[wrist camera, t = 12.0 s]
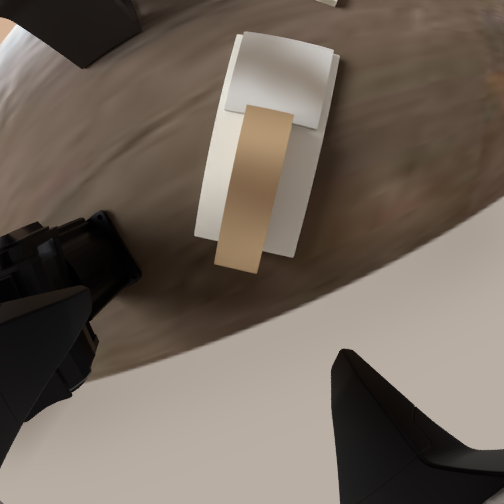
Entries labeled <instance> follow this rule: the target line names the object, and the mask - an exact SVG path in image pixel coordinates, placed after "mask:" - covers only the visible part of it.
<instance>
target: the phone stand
mask: <svg viewBox="0 0 504 504" xmlns="http://www.w3.org/2000/svg"><path fill="white" fill-rule="evenodd" d="M0 17H2V18H6V19H9V20H11V21H13V22H15V23H16V24H18V25H19V26H21V27H22V28H24V29H25V30H27V31H28V32H30V33H31V34H33V35H34V36H36V37H37V38H39V39H40V40H42V41H43V42H45V43H46V44H47V45H49V46H50V47H52V48H53V49H55V50H56V51H57V52H59V53H60V54H62V55H63V56H65V57H66V58H67V59H69V60H70V61H71V62H73V63H74V64H76V65H77V66H78V67H80V68H81V69H83V68H85V67H86V66H87V65H89V64H90V63H91V62H93V61H94V60H96V59H97V58H99V57H100V56H101V55H103V54H104V53H106V52H107V51H109V50H110V49H112V48H114V47H115V46H117V45H118V44H120V43H122V42H123V41H125V40H126V39H128V38H130V37H132V36H133V35H135V34H137V33H139V32H140V31H142V29H141V26H140V23H139V20H138V18H137V15H136V12H135V9H134V6H133V3H132V1H131V0H0Z"/></svg>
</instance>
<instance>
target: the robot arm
mask: <svg viewBox="0 0 504 504" xmlns="http://www.w3.org/2000/svg"><path fill="white" fill-rule="evenodd" d="M100 215H102V219H101V218H100ZM134 273H135V274H136V275H137V277H136V276H134ZM141 276H142V274H141V271H140V270H139V268H138V267H137V265H136V263H135V262H134V260H133V259H132V257H131V255H130V254H129V252H128V250H127V249H126V247H125V245H124V244H123V242H122V240H121V238H120V237H119V235H118V233H117V231H116V230H115V228H114V226H113V224H112V223H111V221H110V219H109V217H108V215H107V213H106V212H105V211H103V210H101V211H98V212H97V213H95V214H94V215H93V216H92V217H90V218H89V219H88V220H87V221H85V219H84V218H78V219H76V220H73V221H71V222H69V223H66V224H64V225H61V226H59V227H57V226H56V227H53V228H49V226H47V227H43V226H42V225H41V224H40V223H39V222H38V221H37V222H35V223H32V224H30V225H27V226H25V227H22V228H20V229H17V230H15V231H13V232H10V233H8V234H6V235H4V236H2V237H0V467H1V465H2V463H3V461H4V459H5V457H6V455H7V453H8V451H9V449H10V447H11V445H12V443H13V441H14V439H15V437H16V435H17V433H18V432H19V430H20V428H21V427H20V426H22V424H23V422H27V421H29V420H30V419H31V418H33V417H34V416H35V415H37V414H38V413H39V412H40V411H42V410H43V409H45V408H46V407H48V406H50V405H52V404H54V403H56V402H58V401H61V400H64V399H68V398H70V397H72V392H74V391H75V390H76V389H78V388H79V387H80V386H81V385H82V384H83V383H84V382H85V380H86V379H87V377H88V376H89V375H90V373H91V371H92V370H91V365H92V361H93V359H94V357H95V353H96V349H97V346H98V343H99V340H98V338H97V335H96V334H94V332H93V330H92V328H91V325H90V323H89V321H91V320H92V319H93V318H94V317H95V316H96V315H97V314H98V313H99V312H100V311H101V310H102V309H103V308H104V307H105V306H106V305H107V304H108V303H109V302H110V301H111V300H112V299H113V298H114V297H115V296H116V295H117V294H118V293H119V292H120V291H121V290H122V289H124V288H126V287H128V286H130V285H131V284H133V283H135V282H137V281H138V280H139V279H140V278H141ZM331 409H332V418H333V427H334V436H335V445H336V456H337V466H338V480H339V493H340V504H504V449H502V450H476V449H472V448H470V447H467V446H466V445H464V444H463V443H462V442H460V441H459V440H457V439H456V438H455V437H453V436H452V435H450V434H449V433H448V432H447V431H445V430H444V429H442V428H441V427H440V426H438V425H437V424H436V423H435V422H433V421H432V420H431V419H430V418H429V417H427V416H426V415H425V414H424V413H423V412H421V411H420V410H419V409H418V408H417V407H414V404H412V403H411V402H410V401H409V400H408V399H407V398H406V397H405V396H404V395H402V394H401V393H400V392H399V391H398V390H397V389H396V388H395V387H393V386H392V385H391V384H390V383H389V382H388V381H387V380H386V379H384V378H383V377H382V376H381V375H380V374H379V373H378V372H376V371H375V370H374V369H373V368H372V367H371V366H370V365H369V364H368V363H366V362H365V361H364V360H363V359H362V358H361V357H360V356H359V355H358V354H357V353H355V352H354V351H353V350H350V349H341V350H340V351H339V353H338V356H337V358H336V360H335V362H334V364H333V366H332V369H331ZM0 504H3V503H2V502H1V501H0Z"/></svg>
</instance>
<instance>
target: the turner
mask: <svg viewBox="0 0 504 504" xmlns="http://www.w3.org/2000/svg"><path fill="white" fill-rule="evenodd" d="M333 51H334V50H332V49H328V48H325V47H321V46H317V45H314V44H310V43H306V42H301V41H297V40H293V39H288V38H283V37H278V36H272V35H266V34H260V33H253V32H246V31H244V34H243V38H242V41H241V45H240V49H239V52H238V56H237V60H236V63H235V67H234V71H233V75H232V79H231V83H230V87H229V91H228V95H227V99H226V103H225V107H224V110H225V111H227V112H233V113H239V114H244V118H243V123H242V127H241V132H240V136H239V141H238V145H237V150H236V154H235V159H234V164H233V168H232V173H231V178H230V183H229V188H228V193H227V198H226V203H225V208H224V213H223V218H222V223H221V228H220V234H219V239H218V245H217V250H216V256H215V261H214V264H216V265H220V266H225V267H229V268H234V269H238V270H242V271H247V272H251V273H256V274H257V271H258V267H259V263H260V259H261V254H262V250H263V246H264V242H265V238H266V234H267V229H268V225H269V221H270V217H271V213H272V208H273V204H274V200H275V196H276V191H277V187H278V183H279V179H280V174H281V170H282V166H283V161H284V157H285V153H286V148H287V144H288V140H289V135H290V131H291V127H292V125H296V126H300V127H304V128H308V129H311V130H317V128H318V123H319V119H320V114H321V110H322V105H323V100H324V96H325V91H326V86H327V81H328V76H329V71H330V66H331V61H332V56H333Z"/></svg>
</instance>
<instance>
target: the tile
mask: <svg viewBox="0 0 504 504" xmlns="http://www.w3.org/2000/svg"><path fill="white" fill-rule="evenodd" d="M315 1H319V2H322V3H325V4H328V5H330V6H333V7H335V5H336V3H337V0H315Z"/></svg>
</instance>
